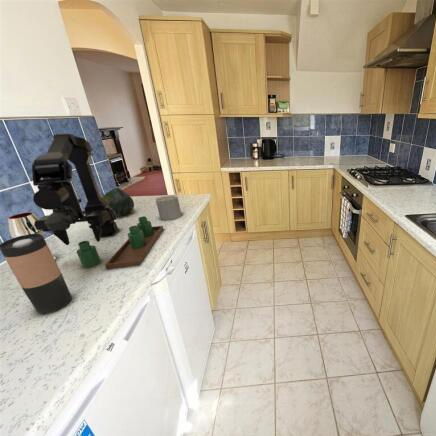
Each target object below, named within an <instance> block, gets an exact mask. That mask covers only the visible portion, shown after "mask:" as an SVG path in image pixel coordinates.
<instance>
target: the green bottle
mask: <svg viewBox="0 0 436 436" xmlns="http://www.w3.org/2000/svg"><path fill="white" fill-rule="evenodd" d="M77 246H78V247H79V248H78V249H77V250H76V254H77V257H78V259H79V261H80V264H81V266H82V267H83V268H84V269H90V268H93V267H96V266H98V265H100V263H101V262H102V260H101V257H100V255H99V252H98V250H97V247H96V246H95V245H94V244H92V245H91V243H90V241H89V240H82V241H80V242H78V243H77Z"/></svg>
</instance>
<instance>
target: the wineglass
mask: <svg viewBox="0 0 436 436" xmlns="http://www.w3.org/2000/svg"><path fill="white" fill-rule="evenodd" d="M38 219H39V218H38V217H37V216H36V215H35V213H34V212H31V211H29V212H20V213H17V214H14V215H10V216H8V217H7V221H8V230H9V234H10V236H11V237H12V239H13V238H16V237H19V236H23V235H28V234H41V235H42V236H43V237H44V235H45V233H46V232H43V231H42V230H36V228H35V226H34V223H35V221H36V220H38ZM53 257H54V259H55V261H56V260H57V257H56V256H53Z"/></svg>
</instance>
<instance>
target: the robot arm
mask: <svg viewBox="0 0 436 436" xmlns="http://www.w3.org/2000/svg"><path fill="white" fill-rule="evenodd" d="M52 139H53V140H52V142H51V143H50V146H49V148H48V150H47V151H46V153H44V154H42V155H38V156H37V157H36V158H35V159H34V160H33V161H32V164H31V172H32V185H33V186H34V187H36V188H37V189H38V191H37V190H36V192H34V194H33V196H32V197H33V199H32V201H33V203H34V204H35V205H36V206H37V207H38V208H40V209H42V210H47V211H51V210H52V213H50V214H49V215H48V214H47V215H44V216H41V217H40V218H38V220H36V221H35V223H34V226H35V228H36V230H42V231H43V232H45V233H49V234H52V235H53V236H55V237H56V238H58V240H59V241H61V242H62V243H63V244H64V245H66V246H69V245H70V243H71V242H70V238H69V234H68V232H67V230H68V229H70V227H71V225H75V224H76V223H84V222H85V223H86V222H87V224H89V225H88V228H89V229H91V230H92V233H93V235H94V239H95V240H96V242H97V243H99V242H101V238H103V237H113V236H114V235H116V234H117V233H118V232H119V231H120V228H118V224H117V221H116V220H118V216H116V214H115V212H114V211H113V210H112V209H111V207H109V205H108V203H107V202H106V201H105V200H104V199H102V198H101V197H102V196H101V193H100V190H99V188H98V185H97V181H96V179H95V175H94V173H93V170H92V166H91V164H90V162H91V159H92V156H93V153H92V151H93V149H92V145H91V143H90V142H89V141H88V139H87V140H86V139H85V138H83V137H79V136H77V135H75V134H73V133H71V132H70V133H69V132H68V133H56V134H53V135H52ZM71 163H72V164H73V165H74V168H75V170H76V173H77V176H78V179H79V181H80V185H81V187H82V190H83V192H84V195H85V199H86V201H87V202H86V204H85V206H84V210H83V209H82V206H81V203H82V199H81V198H78V196H77V194H76V190H75V188H74V186H73V183H72V179H73V166H72V164H71Z"/></svg>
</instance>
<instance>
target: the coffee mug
mask: <svg viewBox="0 0 436 436" xmlns="http://www.w3.org/2000/svg"><path fill="white" fill-rule="evenodd" d="M155 203H156V208H157V211H158V216H159V218H160V220H161V221H172V220H176V219H179V218H181V216H182V210H181V206H180V201H179V197H178V195H176V194H165V195H160V196H158V197H156V198H155Z"/></svg>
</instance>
